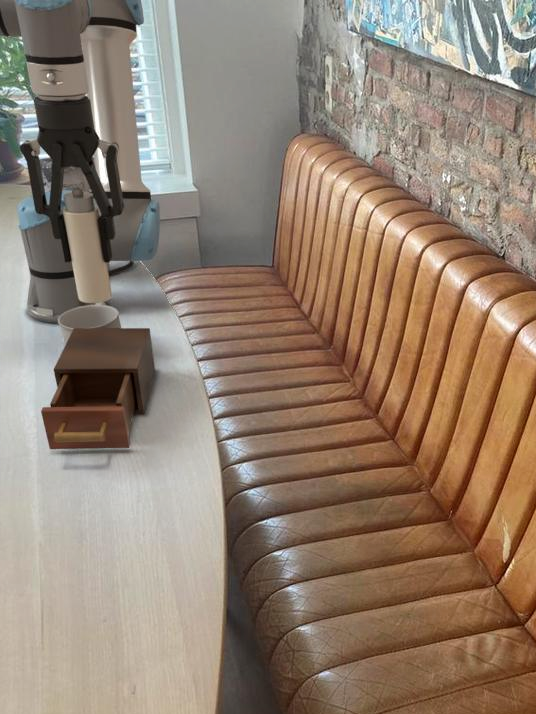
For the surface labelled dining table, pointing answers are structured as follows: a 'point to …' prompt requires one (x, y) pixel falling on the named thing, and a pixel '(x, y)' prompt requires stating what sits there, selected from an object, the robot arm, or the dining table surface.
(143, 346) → the cabinet
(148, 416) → the dining table surface
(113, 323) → the teacup
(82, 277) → the pepper mill
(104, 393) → the drawer
